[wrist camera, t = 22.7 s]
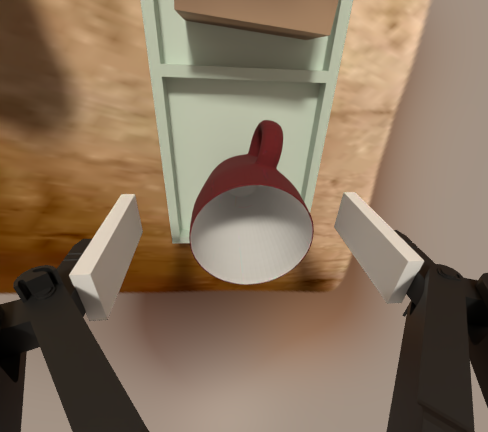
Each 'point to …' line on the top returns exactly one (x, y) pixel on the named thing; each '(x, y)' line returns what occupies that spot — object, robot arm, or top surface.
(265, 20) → the brown rectangular block
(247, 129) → the jig
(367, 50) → the top surface
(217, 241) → the mug
